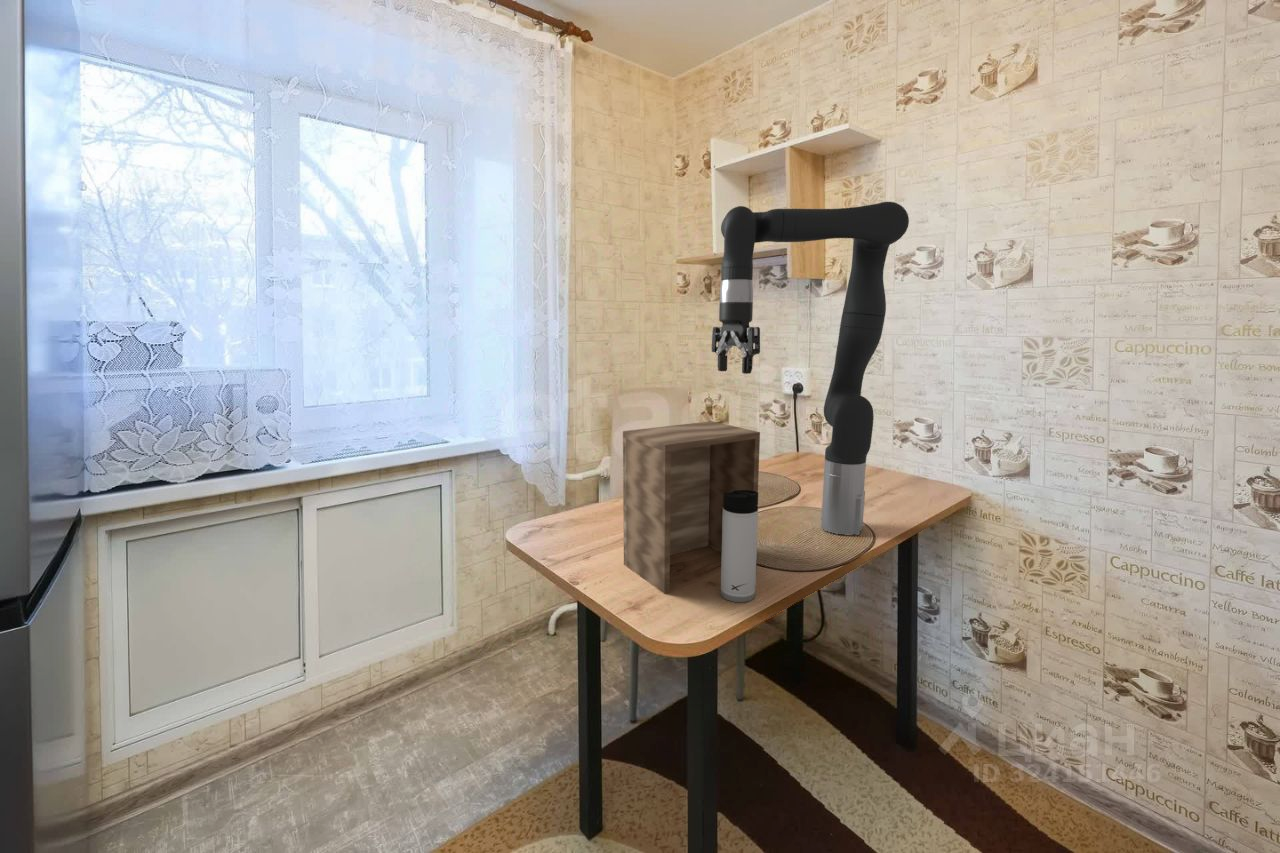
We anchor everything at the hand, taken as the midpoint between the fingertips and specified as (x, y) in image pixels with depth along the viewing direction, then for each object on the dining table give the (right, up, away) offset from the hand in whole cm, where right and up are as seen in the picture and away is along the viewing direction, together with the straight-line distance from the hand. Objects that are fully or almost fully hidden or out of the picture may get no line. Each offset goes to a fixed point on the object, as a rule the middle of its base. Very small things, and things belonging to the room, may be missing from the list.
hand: (734, 372), depth 131 cm
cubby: (-12, -42, -15) cm, 46 cm away
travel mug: (-4, -44, -27) cm, 52 cm away
